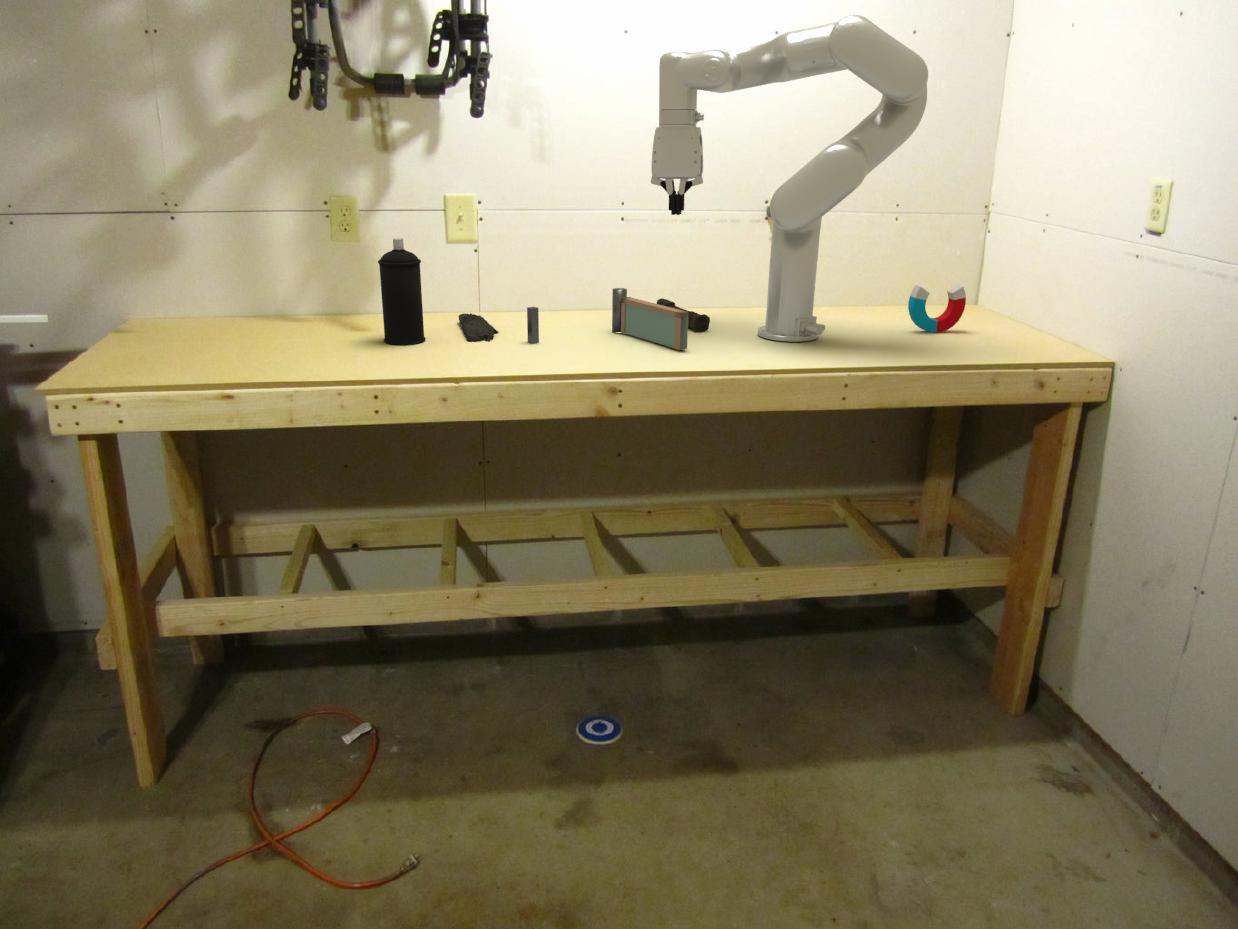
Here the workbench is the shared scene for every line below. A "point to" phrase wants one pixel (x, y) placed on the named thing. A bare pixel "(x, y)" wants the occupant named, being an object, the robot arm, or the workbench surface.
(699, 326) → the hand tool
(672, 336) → the gate
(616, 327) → the gate posts
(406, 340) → the aerosol can
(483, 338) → the wood
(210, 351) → the workbench surface
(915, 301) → the magnet
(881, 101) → the robot arm
